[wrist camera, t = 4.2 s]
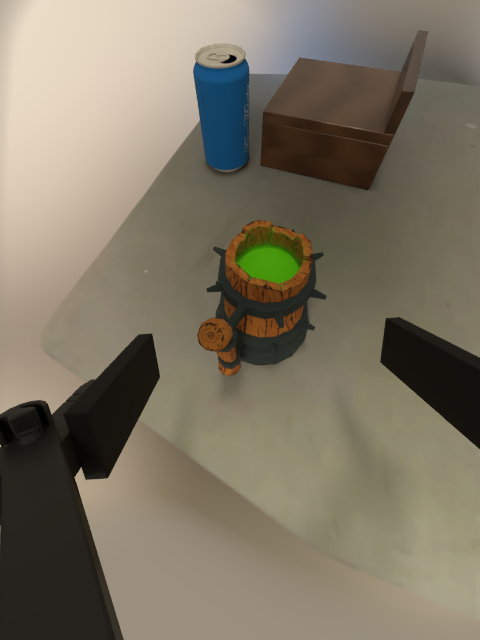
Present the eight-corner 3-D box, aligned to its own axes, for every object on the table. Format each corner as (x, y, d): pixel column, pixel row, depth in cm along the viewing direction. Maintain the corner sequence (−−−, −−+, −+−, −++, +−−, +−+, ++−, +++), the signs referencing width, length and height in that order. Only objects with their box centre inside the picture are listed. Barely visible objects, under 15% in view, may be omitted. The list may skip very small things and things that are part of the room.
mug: (243, 268, 30) (240, 175, 20) (324, 305, 28) (371, 221, 17) (178, 361, 25) (129, 303, 15) (270, 415, 23) (288, 391, 12)
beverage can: (240, 179, 37) (237, 71, 26) (199, 170, 38) (181, 63, 28) (254, 153, 40) (257, 45, 29) (216, 146, 41) (205, 39, 30)
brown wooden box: (260, 165, 39) (264, 68, 29) (292, 111, 45) (304, 17, 35) (368, 190, 36) (414, 91, 26) (385, 128, 42) (428, 31, 32)
